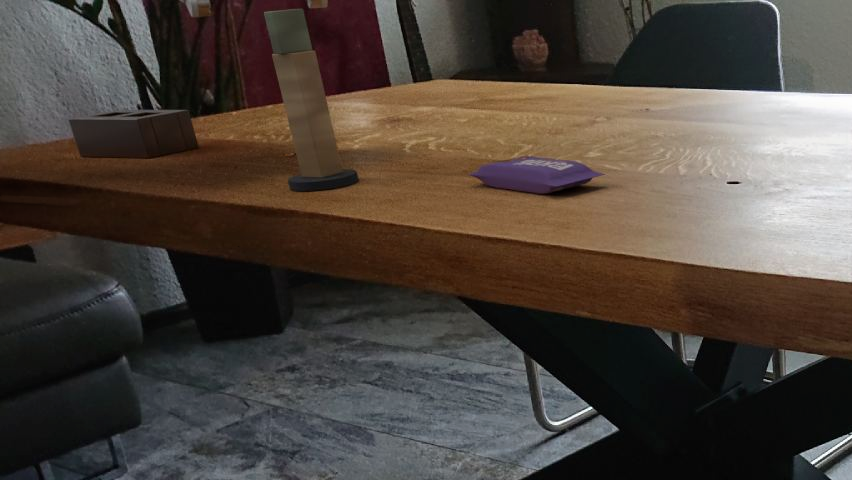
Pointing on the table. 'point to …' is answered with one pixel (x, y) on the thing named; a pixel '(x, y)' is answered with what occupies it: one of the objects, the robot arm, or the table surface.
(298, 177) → the coaster
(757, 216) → the table surface
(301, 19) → the green and tan bar
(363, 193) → the table surface
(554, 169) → the snack package
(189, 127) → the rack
